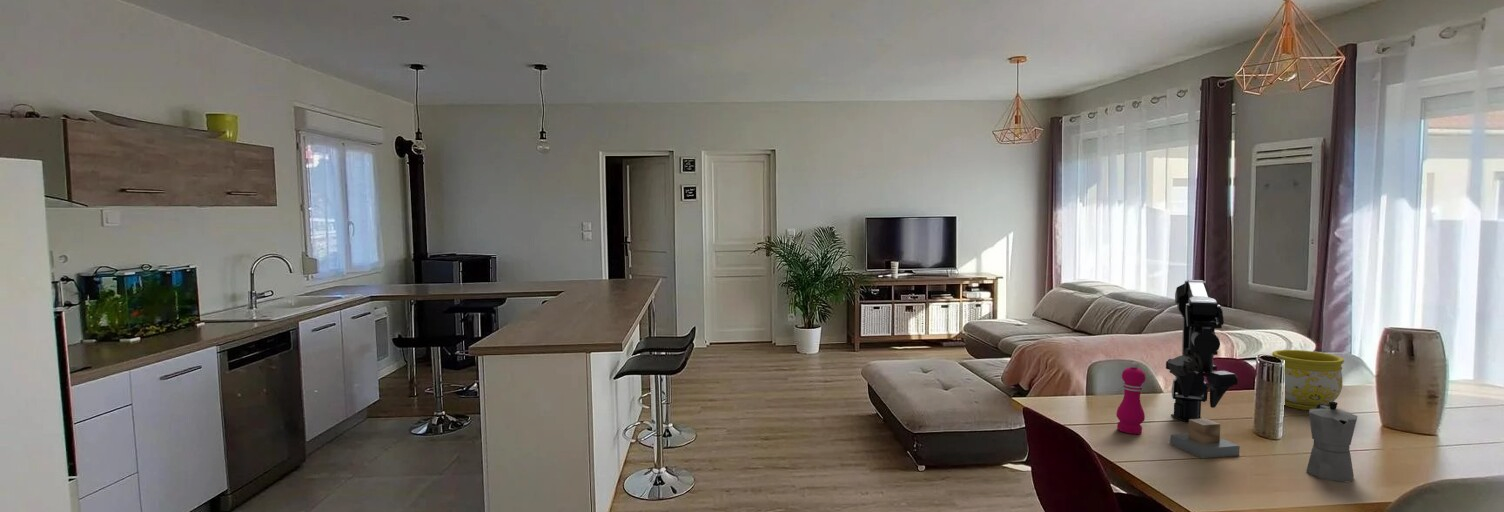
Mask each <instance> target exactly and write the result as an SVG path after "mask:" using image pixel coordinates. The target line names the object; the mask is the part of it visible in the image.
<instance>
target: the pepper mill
mask: <svg viewBox="0 0 1504 512" xmlns="http://www.w3.org/2000/svg"><path fill="white" fill-rule="evenodd" d="M1121 378H1122V381H1124V382H1123V383H1122V388H1123V390H1124V393H1123V399H1122V401H1121V403H1120V404H1119V406H1118V408H1117V410H1116V413H1115V414H1116V417H1117V420H1118V422H1117V427H1116V428H1117V430H1118V431H1120V432H1123V433H1126V434H1133V435H1137V434H1142V433H1143V426H1142V425H1141V424H1142V423H1143V422H1144V421H1145V420H1146V418H1145V417H1146V415H1145V410H1144V409H1143V406H1142V404H1141V403H1142V402H1141V392H1142V391H1143V387H1144V386H1143V384H1144V383H1145V381H1146V374H1145V372H1144V371H1143V370H1142V369H1141V368H1139V365H1138V363H1137V362H1136V361H1134V362H1131V364H1130V367H1126V368H1124V369H1123V370H1122V372H1121Z"/></svg>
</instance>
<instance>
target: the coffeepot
mask: <svg viewBox="0 0 1504 512" xmlns="http://www.w3.org/2000/svg"><path fill="white" fill-rule="evenodd" d="M1329 404H1330V409H1329V407H1328V406H1325V405H1324V404H1318V405H1317V407H1316V409H1310V410H1308V416H1309V417H1308V418H1309V422H1310V423H1309V425H1310V431H1311V439H1312V440H1313V445H1312V448H1311V450H1310V451H1311V452H1310V455H1309V460H1308V463H1307V467H1306V471H1305V472H1306V473H1308V474H1309V475H1311V476H1313V477H1315V478H1318V479H1321V480H1324V481H1325V480H1326V481H1330V482H1337V483H1339V482H1340V483H1346V482H1345V481H1350V482H1353V480H1354V477H1355V473H1354V469H1353V461H1352V458H1351V457H1352V455H1351V451H1350V446H1351V443H1352V440H1353V436H1354V432H1355V428H1356V425H1357V424H1356V423H1357V421H1358V415H1357V414H1353V413H1349V412H1346V411H1344V410H1341V409H1337V407H1338V402H1336V401H1333V402H1329Z"/></svg>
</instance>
